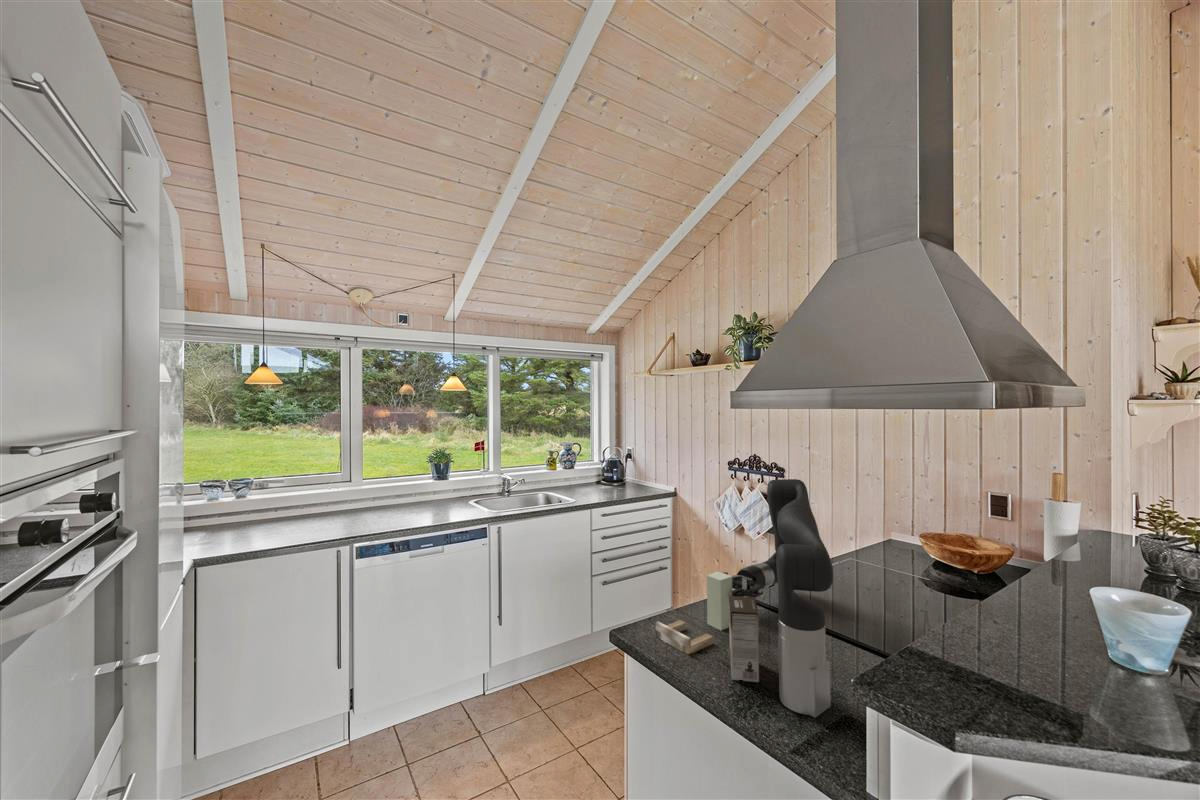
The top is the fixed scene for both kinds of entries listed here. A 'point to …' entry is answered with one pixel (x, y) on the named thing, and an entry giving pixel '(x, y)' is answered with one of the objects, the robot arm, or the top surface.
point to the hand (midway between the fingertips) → (721, 591)
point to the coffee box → (744, 638)
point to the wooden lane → (681, 637)
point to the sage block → (718, 599)
